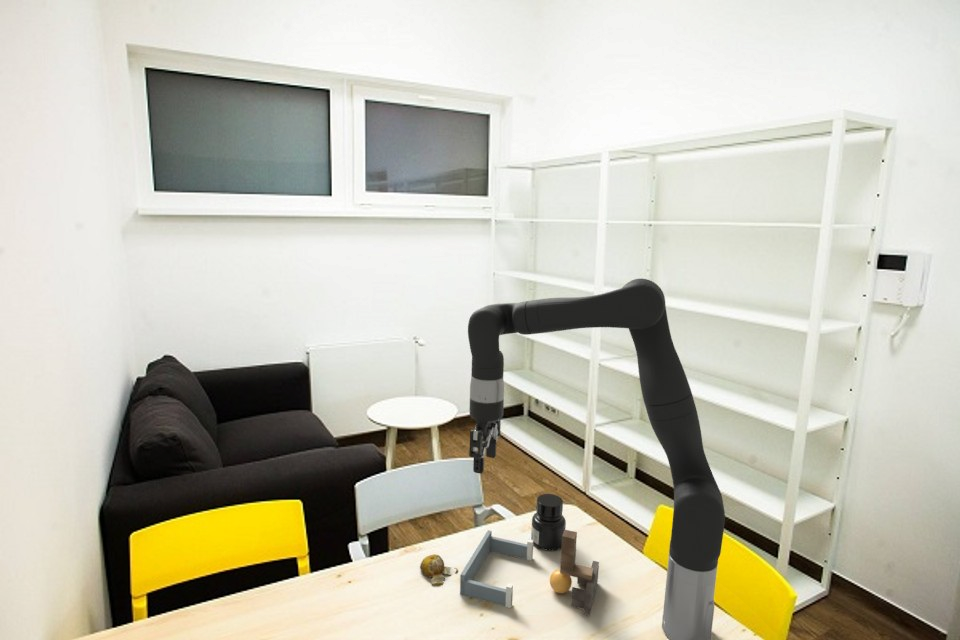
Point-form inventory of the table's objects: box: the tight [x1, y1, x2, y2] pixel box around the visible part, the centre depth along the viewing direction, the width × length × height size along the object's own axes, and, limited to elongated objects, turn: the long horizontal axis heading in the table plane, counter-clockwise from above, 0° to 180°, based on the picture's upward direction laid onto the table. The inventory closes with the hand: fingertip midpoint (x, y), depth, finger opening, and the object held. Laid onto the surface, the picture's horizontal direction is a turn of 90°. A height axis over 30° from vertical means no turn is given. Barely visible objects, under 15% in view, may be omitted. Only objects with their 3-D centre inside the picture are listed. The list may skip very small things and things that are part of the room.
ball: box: [549, 568, 573, 594], centre depth 124 cm, size 5×5×5 cm
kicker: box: [559, 529, 600, 616], centre depth 122 cm, size 8×12×14 cm, turn 160°
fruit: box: [419, 554, 459, 586], centre depth 130 cm, size 8×8×4 cm
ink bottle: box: [530, 493, 567, 552], centre depth 143 cm, size 10×9×12 cm
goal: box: [459, 529, 534, 609], centre depth 129 cm, size 12×19×5 cm, turn 160°
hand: (485, 464), depth 122 cm, fingers open, 8 cm apart
